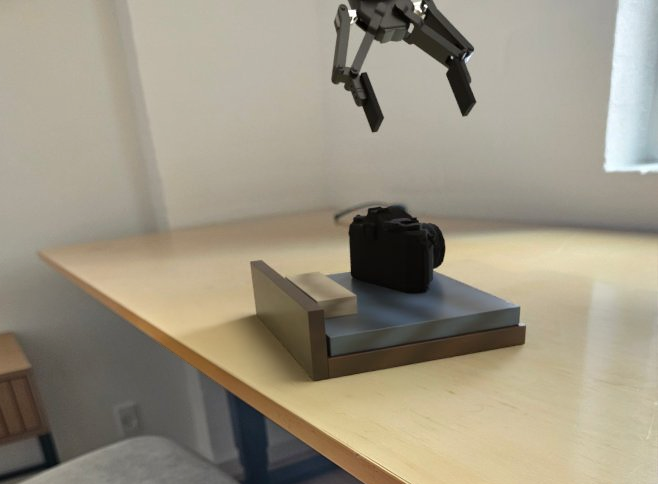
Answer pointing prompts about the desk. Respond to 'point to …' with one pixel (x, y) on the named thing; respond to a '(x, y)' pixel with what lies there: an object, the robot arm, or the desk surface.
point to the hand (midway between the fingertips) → (424, 117)
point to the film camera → (395, 249)
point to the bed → (312, 333)
